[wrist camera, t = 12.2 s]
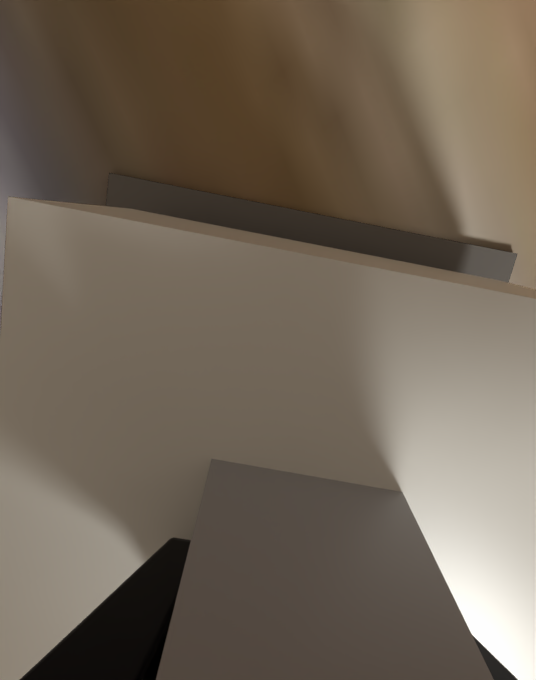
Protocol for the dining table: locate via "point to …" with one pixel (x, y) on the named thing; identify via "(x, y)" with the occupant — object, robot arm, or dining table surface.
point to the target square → (308, 227)
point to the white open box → (265, 449)
